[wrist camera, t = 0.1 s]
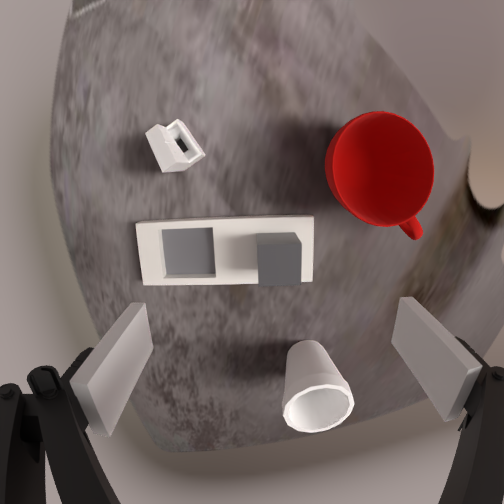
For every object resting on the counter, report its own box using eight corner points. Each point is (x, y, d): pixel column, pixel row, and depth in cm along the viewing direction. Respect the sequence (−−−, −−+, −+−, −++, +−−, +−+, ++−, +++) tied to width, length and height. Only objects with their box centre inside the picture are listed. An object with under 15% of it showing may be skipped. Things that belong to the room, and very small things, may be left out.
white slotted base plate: (140, 221, 41) (117, 233, 34) (310, 214, 41) (323, 225, 33) (147, 280, 44) (128, 302, 36) (309, 276, 43) (321, 299, 36)
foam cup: (299, 322, 46) (313, 374, 33) (344, 345, 47) (367, 396, 34) (266, 365, 48) (269, 421, 35) (311, 384, 49) (323, 438, 36)
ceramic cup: (361, 252, 42) (388, 275, 33) (294, 155, 39) (306, 151, 29) (424, 202, 40) (462, 213, 31) (365, 105, 37) (395, 91, 27)
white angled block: (198, 198, 38) (162, 172, 30) (171, 147, 41) (138, 117, 33) (221, 182, 38) (190, 151, 29) (192, 132, 40) (161, 99, 32)
